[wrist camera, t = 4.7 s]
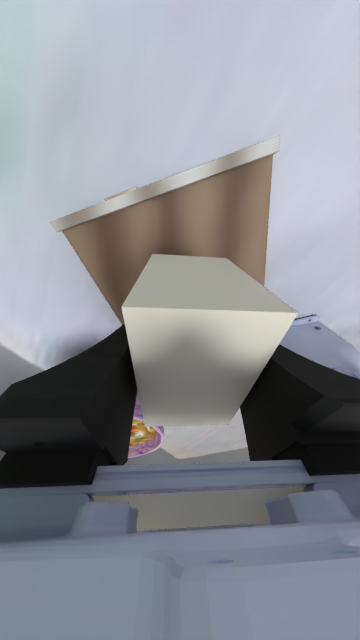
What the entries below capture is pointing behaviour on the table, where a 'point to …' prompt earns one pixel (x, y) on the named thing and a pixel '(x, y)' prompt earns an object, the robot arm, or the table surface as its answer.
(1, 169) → the table surface
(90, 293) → the table surface
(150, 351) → the carton
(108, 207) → the shelf board
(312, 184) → the table surface
